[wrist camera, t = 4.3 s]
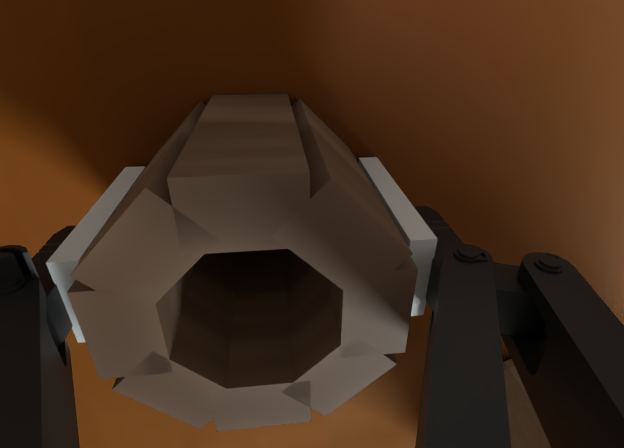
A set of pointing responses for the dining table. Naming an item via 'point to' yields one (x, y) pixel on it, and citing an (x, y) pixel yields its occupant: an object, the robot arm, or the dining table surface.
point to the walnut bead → (247, 272)
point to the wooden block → (521, 413)
